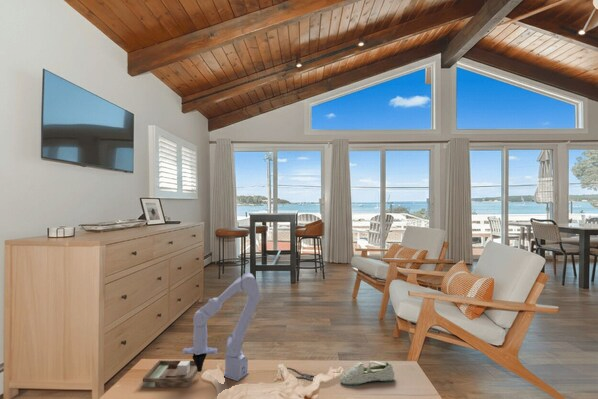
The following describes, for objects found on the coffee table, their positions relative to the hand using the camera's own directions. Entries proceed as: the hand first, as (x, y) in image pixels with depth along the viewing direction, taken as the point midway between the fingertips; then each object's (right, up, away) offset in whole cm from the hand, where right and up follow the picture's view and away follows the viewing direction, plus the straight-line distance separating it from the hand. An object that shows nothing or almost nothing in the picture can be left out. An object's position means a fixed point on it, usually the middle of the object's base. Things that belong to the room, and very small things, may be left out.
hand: (199, 370), depth 142 cm
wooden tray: (-12, -3, 0) cm, 12 cm away
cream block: (-7, -1, 0) cm, 7 cm away
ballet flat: (+72, -4, -1) cm, 72 cm away
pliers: (+43, -4, +3) cm, 43 cm away
